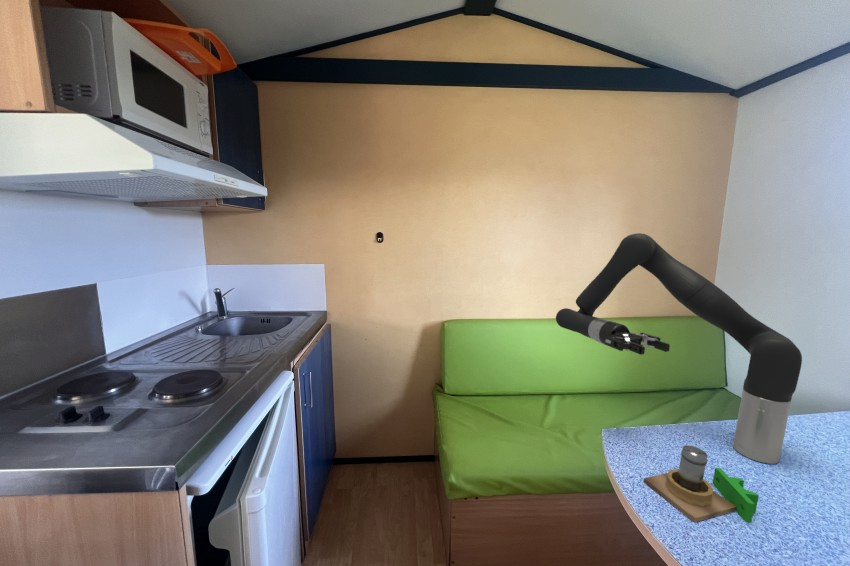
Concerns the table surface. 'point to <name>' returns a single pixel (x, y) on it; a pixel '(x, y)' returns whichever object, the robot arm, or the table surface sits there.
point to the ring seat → (690, 497)
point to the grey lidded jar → (691, 468)
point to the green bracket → (736, 494)
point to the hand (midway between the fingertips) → (656, 349)
